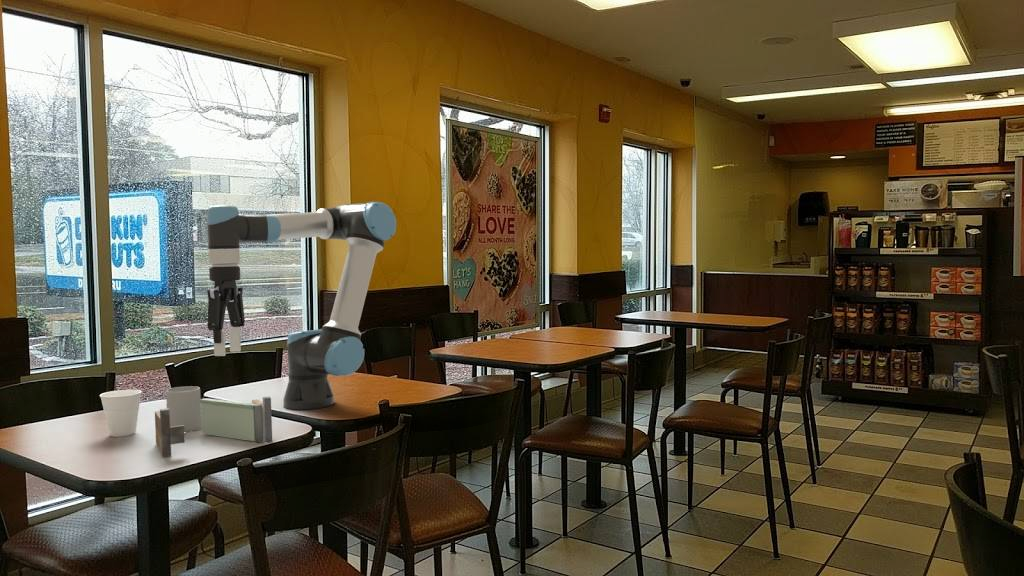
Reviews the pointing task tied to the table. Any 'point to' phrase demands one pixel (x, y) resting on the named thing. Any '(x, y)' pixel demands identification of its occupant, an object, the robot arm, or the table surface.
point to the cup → (121, 411)
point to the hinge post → (266, 417)
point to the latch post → (167, 432)
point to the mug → (184, 407)
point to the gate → (232, 419)
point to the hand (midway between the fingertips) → (227, 353)
